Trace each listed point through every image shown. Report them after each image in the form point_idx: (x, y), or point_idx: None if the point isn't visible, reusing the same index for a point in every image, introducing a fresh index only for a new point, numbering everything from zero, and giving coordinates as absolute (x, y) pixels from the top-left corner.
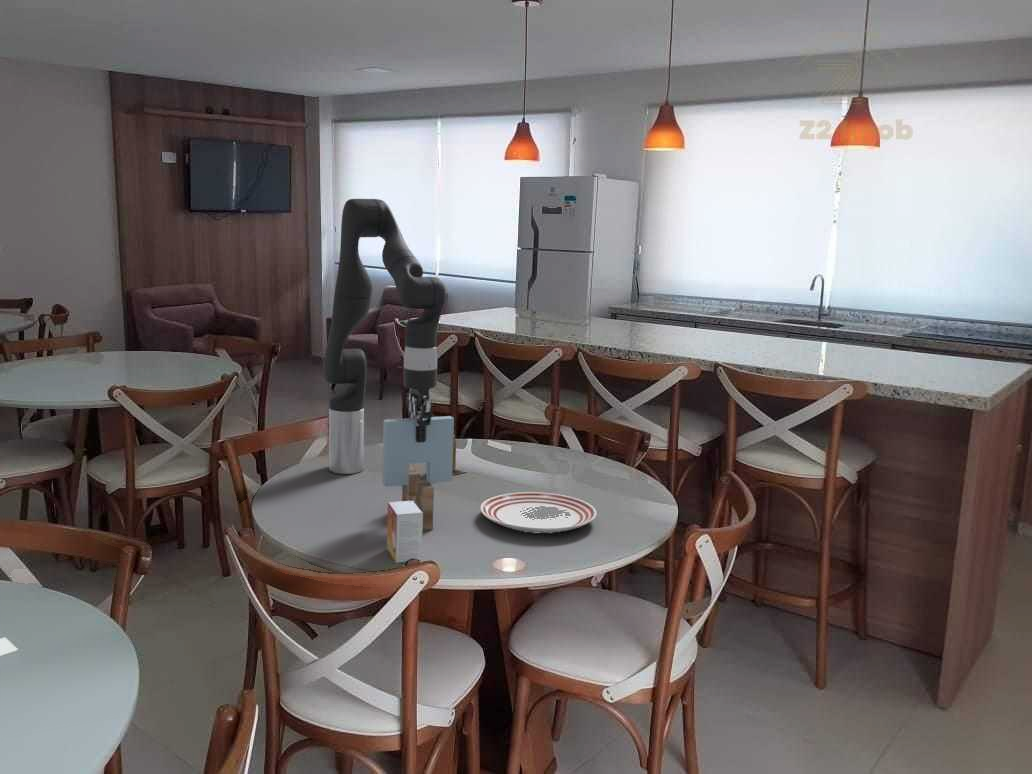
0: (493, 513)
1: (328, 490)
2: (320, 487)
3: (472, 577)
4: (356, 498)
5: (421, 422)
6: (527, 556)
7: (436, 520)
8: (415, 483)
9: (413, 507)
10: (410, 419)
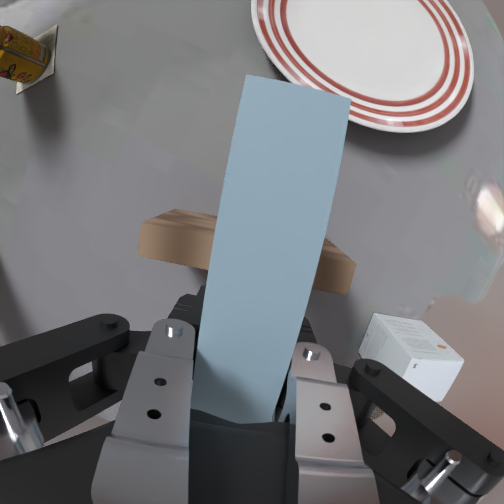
0: (329, 83)
1: (45, 309)
2: (31, 313)
3: (490, 281)
4: (89, 288)
5: (373, 426)
6: (486, 165)
7: None
8: None
9: (439, 369)
10: None
